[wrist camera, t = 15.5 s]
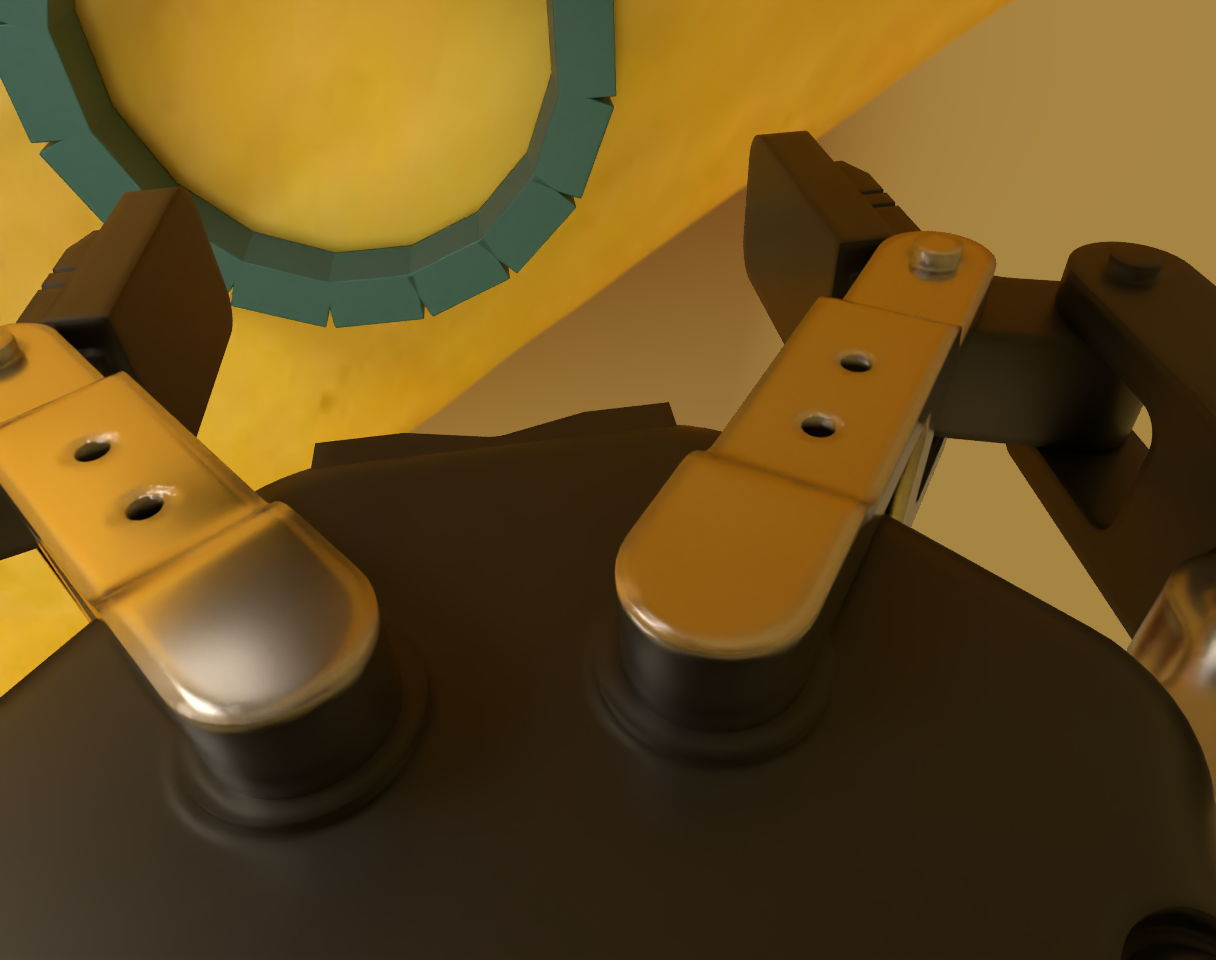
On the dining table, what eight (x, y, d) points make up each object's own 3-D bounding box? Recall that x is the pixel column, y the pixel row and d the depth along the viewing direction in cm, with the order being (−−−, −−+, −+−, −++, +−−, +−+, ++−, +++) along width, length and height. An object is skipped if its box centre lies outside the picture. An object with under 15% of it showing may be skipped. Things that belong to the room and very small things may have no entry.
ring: (-142, -331, 27) (-193, -334, 25) (592, -357, 29) (605, -363, 27) (143, 316, 43) (126, 349, 40) (612, 270, 45) (621, 299, 42)
